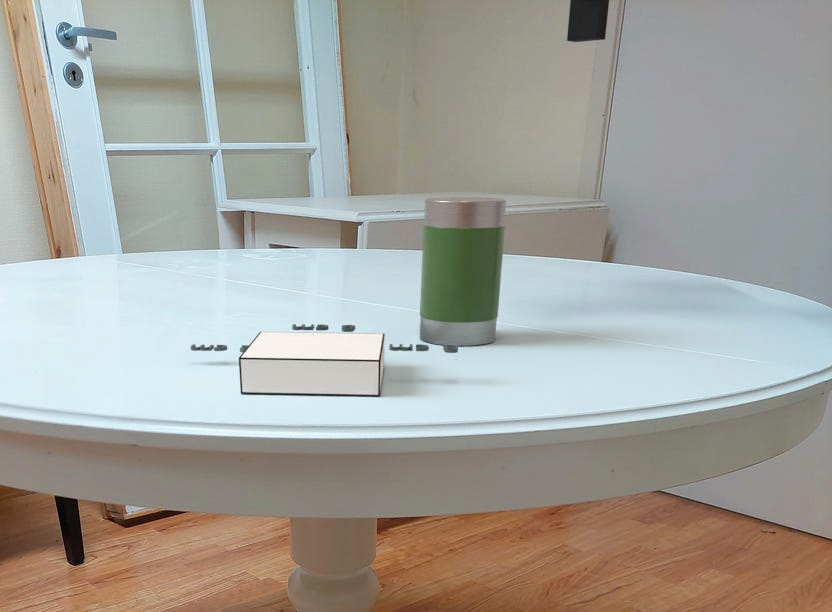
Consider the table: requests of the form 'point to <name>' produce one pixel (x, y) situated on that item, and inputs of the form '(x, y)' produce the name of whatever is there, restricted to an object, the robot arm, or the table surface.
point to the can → (461, 269)
